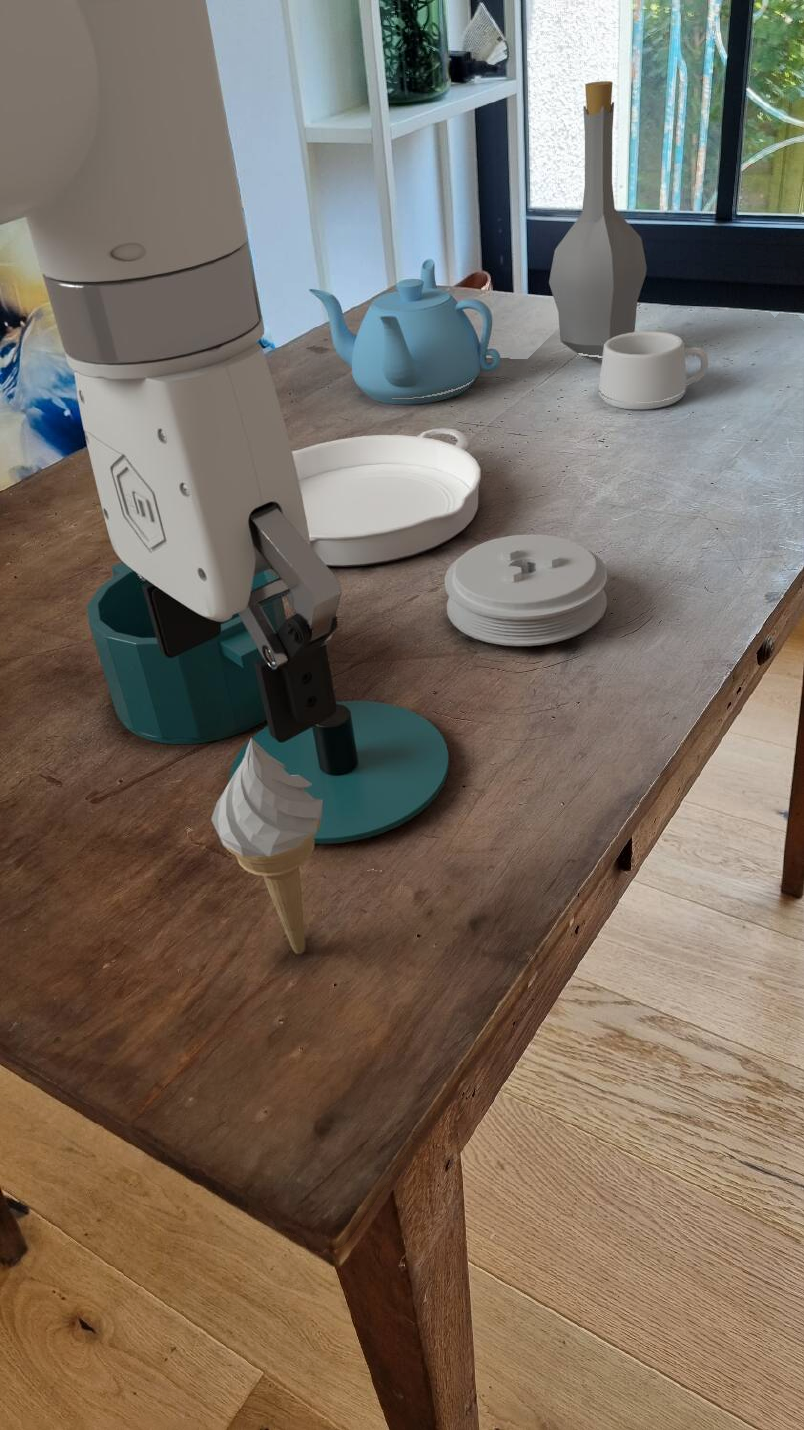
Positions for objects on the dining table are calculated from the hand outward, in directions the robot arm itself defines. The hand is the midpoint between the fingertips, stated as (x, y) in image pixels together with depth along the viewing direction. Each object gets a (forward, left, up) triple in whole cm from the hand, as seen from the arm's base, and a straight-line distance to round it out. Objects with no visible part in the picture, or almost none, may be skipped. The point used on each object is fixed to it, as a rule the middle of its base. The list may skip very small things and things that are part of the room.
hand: (245, 683), depth 51 cm
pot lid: (+11, +11, -17) cm, 23 cm away
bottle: (+82, +54, -18) cm, 100 cm away
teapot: (+63, +67, -18) cm, 94 cm away
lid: (+34, +17, -18) cm, 42 cm away
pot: (+10, +27, -18) cm, 34 cm away
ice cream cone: (0, 0, -18) cm, 18 cm away
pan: (+37, +42, -18) cm, 59 cm away
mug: (+77, +41, -18) cm, 89 cm away
